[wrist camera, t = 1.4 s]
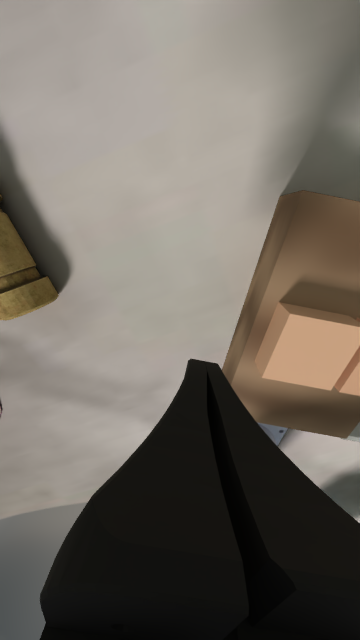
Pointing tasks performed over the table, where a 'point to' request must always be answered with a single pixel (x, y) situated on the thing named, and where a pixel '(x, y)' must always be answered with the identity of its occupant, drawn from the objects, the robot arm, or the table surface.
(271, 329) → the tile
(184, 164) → the table surface
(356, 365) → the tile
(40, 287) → the gavel
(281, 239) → the board
